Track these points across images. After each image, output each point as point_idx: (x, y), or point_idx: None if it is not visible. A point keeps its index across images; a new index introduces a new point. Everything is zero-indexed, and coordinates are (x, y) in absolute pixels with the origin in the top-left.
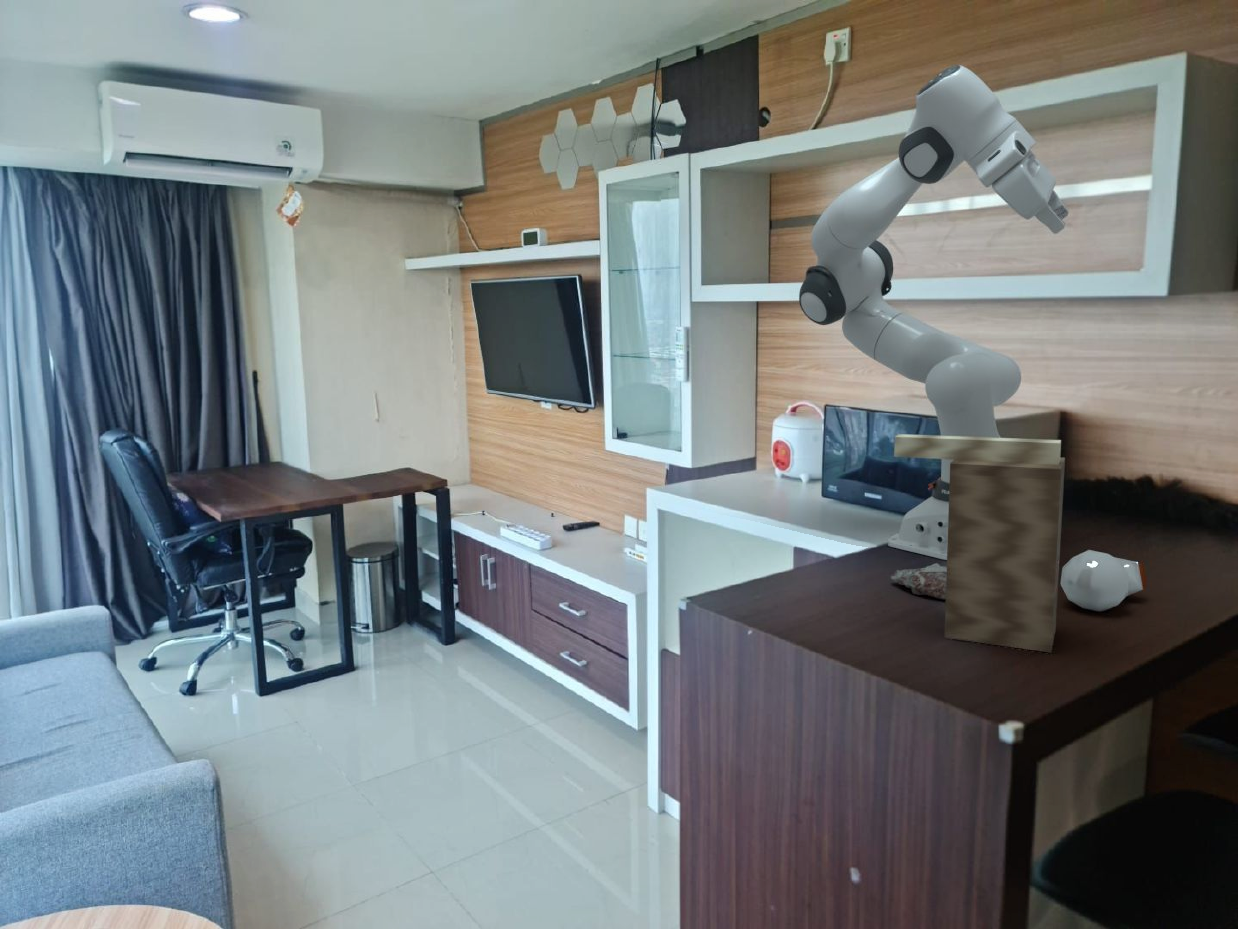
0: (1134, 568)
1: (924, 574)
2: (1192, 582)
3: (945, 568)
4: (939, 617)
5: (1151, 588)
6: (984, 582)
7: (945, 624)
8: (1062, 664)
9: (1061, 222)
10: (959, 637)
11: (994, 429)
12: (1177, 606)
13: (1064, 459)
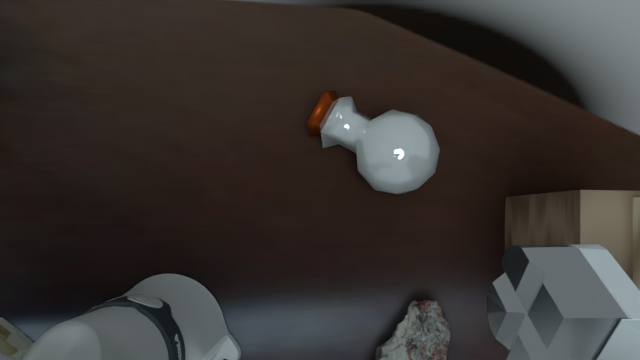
0: (345, 102)
1: None
2: (227, 39)
3: (396, 351)
4: None
5: (275, 87)
6: None
7: None
8: (623, 186)
9: (627, 275)
10: None
11: (105, 346)
12: (344, 61)
13: (602, 190)
